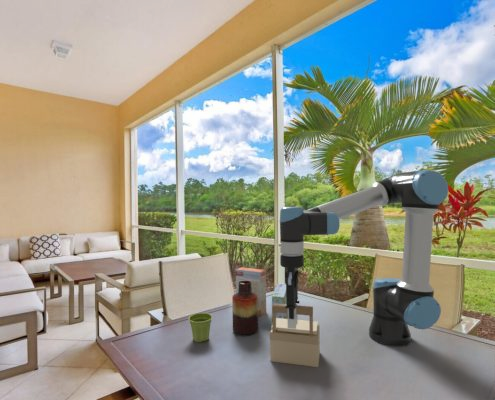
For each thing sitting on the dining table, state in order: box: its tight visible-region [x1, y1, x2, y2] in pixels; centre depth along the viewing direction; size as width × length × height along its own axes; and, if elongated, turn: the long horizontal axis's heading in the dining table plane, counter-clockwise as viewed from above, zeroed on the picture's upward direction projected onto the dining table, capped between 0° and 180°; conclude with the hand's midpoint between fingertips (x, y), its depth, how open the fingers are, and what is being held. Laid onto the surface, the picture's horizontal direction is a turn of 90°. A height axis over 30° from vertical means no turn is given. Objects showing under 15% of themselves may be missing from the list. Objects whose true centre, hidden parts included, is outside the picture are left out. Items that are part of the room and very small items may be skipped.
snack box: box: [271, 283, 288, 326], centre depth 141 cm, size 21×6×15 cm, turn 168°
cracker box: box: [235, 266, 267, 317], centre depth 155 cm, size 14×6×21 cm, turn 58°
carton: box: [269, 324, 321, 368], centre depth 111 cm, size 16×10×10 cm, turn 75°
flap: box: [270, 304, 319, 337], centre depth 109 cm, size 15×14×9 cm
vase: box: [231, 281, 259, 337], centre depth 134 cm, size 11×11×20 cm
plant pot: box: [188, 312, 214, 343], centre depth 126 cm, size 9×9×9 cm
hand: (292, 325), depth 104 cm, fingers closed on flap, 3 cm apart
